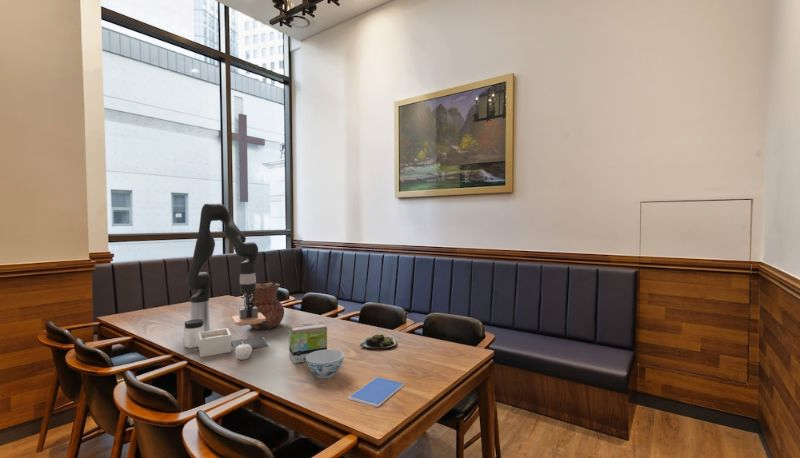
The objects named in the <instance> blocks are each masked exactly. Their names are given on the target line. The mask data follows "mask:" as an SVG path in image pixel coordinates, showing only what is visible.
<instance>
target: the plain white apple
mask: <svg viewBox="0 0 800 458" xmlns="http://www.w3.org/2000/svg"><path fill="white" fill-rule="evenodd" d="M241 342H242V341H241ZM252 351H253V349H252V347H251V346H250V345H249V344H244V343H243V342H242V345H239V346H237V347H236V348H235V350H234V353H235V356H236V358H237V360H241V361H243V360H247V359H249V358H250V357H251V354H252Z"/></svg>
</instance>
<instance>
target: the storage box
mask: <svg viewBox="0 0 800 458" xmlns="http://www.w3.org/2000/svg"><path fill="white" fill-rule="evenodd" d="M198 338H199V347H198V351H199V357H200V358H204V357H209V356H214V355H215V356H216V355H220V354H226V353H231V352H232V344H231V341H232V334H231V331H230V330H229V328H228V327H227V328H220V329H219V328H218V329H214V330H213V329H212V330H209V331H205V332H198Z"/></svg>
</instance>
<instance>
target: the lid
mask: <svg viewBox="0 0 800 458" xmlns="http://www.w3.org/2000/svg"><path fill="white" fill-rule="evenodd" d="M238 309H239V311H238V315H232V316H231V320H232V321H233V323H234V324H235V326H238V327H242V326H250V324H257V323H262V321H266V318H265V317H264V316H263V315H262V314H261V312H260V313H258V308H257V307H253V309H252V317H250V318H247V310H246V309H247V308H245V307H242V308H238Z"/></svg>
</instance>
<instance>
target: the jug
mask: <svg viewBox="0 0 800 458" xmlns="http://www.w3.org/2000/svg"><path fill="white" fill-rule="evenodd" d="M280 286H281V284H280V283H277V282H276V283H274V282H266V283H256V291H255V292H252V293H251V294H252V295H253V307H257V308H258V313H260V312H261V314H262V315H263V316H264V317H265V318H266V321H262V323H257V324H250V325H249V326H250V327H251V328H253V329H255V330H269V329H273V328H275V327H277V326H279V325H280V323H282V321H283V319H284V317H285V309H284V306H283V303H282V302H281V301H280V300H279V299H278V298H277V295H278V294H277V293H278V290H279V288H280ZM244 294H245V293H242V296H243V295H244ZM250 307H251V305H250Z"/></svg>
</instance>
